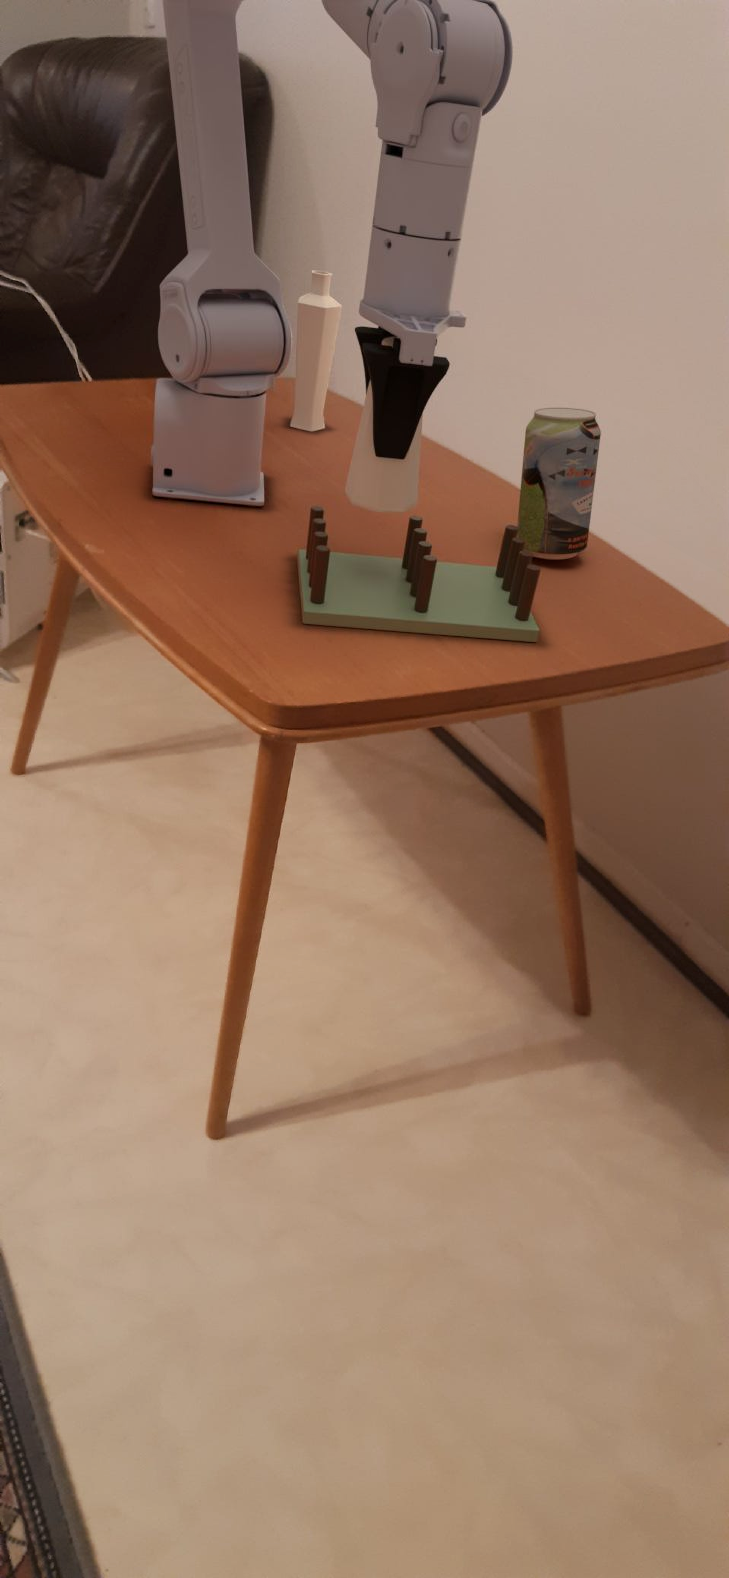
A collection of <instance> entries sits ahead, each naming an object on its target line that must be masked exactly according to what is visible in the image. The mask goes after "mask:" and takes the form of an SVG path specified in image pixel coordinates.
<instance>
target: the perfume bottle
mask: <svg viewBox="0 0 729 1578" xmlns="http://www.w3.org/2000/svg"><path fill="white" fill-rule="evenodd" d="M311 275H312V276H311V277H312V278H311V286H310V292H307V293H305V294H304V295H301V296H300V297H299V298H298V300H297V316H296V317H297V321H296V348H295V349H296V350H295V351H296V353H295V379H294V380H295V381H294V382H295V383H294V384H295V385H294V408H293V409H294V410H293V413H292V416H291V419H290V424H289V427H291V428H295V429H298V430H303V431H307V432H316V431H320V430H325V429H326V425H325V417H324V409H325V404H326V398H327V393H328V387H329V380H330V375H331V370H332V364H333V360H334V359H333V358H334V353H335V348H336V342H337V336H338V330H339V325H340V321H341V314H342V310H343V305H342V304H341V303H339V302H338V301H337V300H336V299H335V298H333V296H331V295H330V288H331V280H332V276H333V273H331V272H328V271H326V270H316V269H311Z"/></svg>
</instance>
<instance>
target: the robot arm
mask: <svg viewBox="0 0 729 1578" xmlns="http://www.w3.org/2000/svg"><path fill="white" fill-rule="evenodd" d="M244 1H245V0H162V8H163V19H164V26H165V27H164V28H165V29H164V30H165V38H166V39H165V40H166V47H167V56H168V57H167V59H168V68H169V76H170V77H169V78H170V87H171V96H172V107H173V116H174V126H175V127H174V128H175V137H176V145H177V146H176V147H177V155H178V158H177V159H178V165H179V176H180V187H181V196H182V205H183V207H182V208H183V217H184V226H185V235H186V236H185V237H186V245H187V246H186V247H187V254H186V256H185V257H184V258H183V259H182V260H181V261H180V262H179V263H178V264H177V265H176V266H175V267H174V268H173V269H172V270H171V271H170V272H169V273H168V274H167V275H166V276H165V277H164V279H163V280H162V281H161V283H160V284H159V296H160V299H159V300H160V311H159V321H158V327H157V341H158V348H159V352H160V353H159V354H160V356H161V360H162V362H163V364H164V366H165V368H166V369H167V371H168V372H169V374H170V376H172V377H171V378H170V377H169V378H168V377H159V378H157V379H156V383H155V390H154V391H155V392H154V406H153V407H154V409H153V444H152V445H151V447H150V466H151V467H152V468H153V469H152V490H151V491H152V493H151V494H152V495H153V496H155V497H158V498H159V497H161V498H171V499H181V500H193V501H201V502H213V503H224V504H232V505H233V504H234V505H243V506H254V507H262V506H264V505H265V477H264V471H261V469H262V455H263V442H264V430H265V418H266V417H265V416H266V405H267V404H266V401H267V391H268V390H273V389H275V384H276V381H275V380H276V378H277V377H280V376H281V374H283V373H284V371H285V370H286V368H287V367H288V364H289V363H290V362H289V361H290V358H291V355H292V350H293V331H292V326H291V322H290V319H289V317H288V314H287V311H286V308H285V304H284V299H283V293H282V281H281V280H280V278H279V277H278V276H277V275H276V274H275V273H274V271H272V269H271V268H270V267H268V265H266V263H265V262H263V261H262V259H260V257H259V256H258V255H257V254H256V253H255V249H254V248H255V247H254V238H253V237H254V236H253V235H254V234H253V223H252V209H251V199H250V185H249V172H248V159H247V148H246V147H247V146H246V134H245V133H246V132H245V124H244V123H245V121H244V107H243V96H242V83H241V71H240V70H241V69H240V58H239V57H240V56H239V46H238V45H239V44H238V33H237V32H238V31H237V21H236V19H237V13H238V11H239V9H240V7H241V5H242V3H243V2H244ZM321 3H322V7H323V8H324V10H325V12H326V14H327V15H328V16H329V18H331V19H332V21H334V23H335V24H336V25H337V26H338V27H339V28H340V29H341V30H342V31H343V32H344V33H345V35H346V36H347V37H348V38H350V40H351V41H352V42H353V43H354V44H355V45H356V46H357V48H359V49H360V51H362V53H363V54H364V55H365V56H366V57H367V58H368V59H369V60H370V61H369V62H370V73H371V79H372V84H373V86H374V87H373V88H374V90H375V94H376V100H377V101H376V103H377V111H376V119H375V128H377V137H378V139H380V140H381V149H380V159H379V165H378V174H377V182H376V191H375V199H374V207H373V214H372V215H373V216H372V225H371V233H370V239H369V240H370V241H369V249H368V257H367V264H366V265H367V266H366V273H365V281H364V290H363V298H361V299H359V307H358V315H359V316H360V317H362V318H363V319H365V320H367V321H369V322H370V323H372V324H374V325H375V326H377V327H372V326H356V327H354V333H355V335H356V336H355V337H356V339H357V342H358V346H359V350H360V353H361V354H360V355H361V359H362V365H363V372H364V382H365V395H366V394H367V390H368V386H369V382H370V381H371V388H372V400H373V444H374V451H375V455H376V457H383V458H392V459H402V460H403V459H405V457H406V455H407V453H408V451H409V448H410V446H411V443H412V440H413V438H414V435H415V432H416V429H417V426H418V424H419V421H420V418H421V416H422V413H423V414H424V411H425V408H426V407H427V405H428V402H429V401H430V399H431V396H432V395H433V393H434V392H435V390H436V389H437V387H438V386H439V384H440V383H441V381H442V380H443V379H444V377H445V376H446V375H447V373H448V371H449V369H450V363H451V362H450V361H449V359H448V358H447V357H446V356H439V355H435V351H436V347H437V344H438V338H439V337H441V336H442V334H443V333H445V332H446V331H448V329H449V328H465V327H466V323H467V315H466V314H465V313H464V312H463V311H460V310H455V309H451V303H452V298H453V293H454V292H453V291H454V285H455V279H456V273H457V266H458V261H459V254H460V249H461V243H462V236H463V231H464V225H465V219H466V215H467V214H466V213H467V207H468V201H469V194H470V189H471V182H472V177H473V171H474V165H475V159H476V152H477V147H478V140H479V134H480V130H481V129H480V128H481V121H482V117H484V116H486V115H487V114H488V113H490V112H491V111H492V110H493V109H494V108H495V107H496V105H497V104H498V103H499V101H500V100H501V98H502V96H503V95H504V93H505V90H506V88H507V85H508V82H509V79H510V74H511V71H512V64H513V54H514V53H513V52H514V51H513V47H514V46H513V38H512V33H511V29H510V26H509V24H508V21H507V19H506V17H505V16H504V14H502V12H501V10H500V8H499V6H498V4H497V2H496V1H494V0H321ZM205 294H206V295H212V294H213V295H215V294H217V295H220V294H221V295H227V294H228V295H233V296H236V297H238V298H201V296H202V295H205ZM388 337H397V338H394V341H393V348H392V346H387V345H382V341H383V340H384V339H385V338H388Z"/></svg>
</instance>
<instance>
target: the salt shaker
mask: <svg viewBox="0 0 729 1578" xmlns="http://www.w3.org/2000/svg"><path fill="white" fill-rule="evenodd" d="M394 338H397V337H388V338H385V339H384V340H383V341H382V345H387V346H392V348H393V341H394ZM362 407H363V408H362V412H361V417H360V421H359V426H358V429H357V434H356V438H355V443H354V446H353V451H352V455H351V460H350V464H349V469H348V473H347V477H346V480H345V481H346V482H345V486H344V489H343V493H344V495H345V497H346V498H347V500H348V501H349V502H350V504H351V505H353V506H355V507H359V508H361V509H364V510H367V511H371V512H374V513H376V514H377V513H378V514H379V513H380V514H405V513H407V512H408V511H410V510H412V509H413V508H414V509H415V507H416V506H417V505H418V501H419V499H418V497H419V483H420V482H419V480H420V467H421V466H420V465H421V452H422V451H421V448H422V432H423V415H424V412H423V413H422V416H421V418H420V421H419V424H418V426H417V429H416V432H415V435H414V438H413V440H412V443H411V446H410V448H409V451H408V453H407V455H406V457H405V459H403V460H402V459H392V458H383V457H376V455H375V451H374V444H373V400H372V388H371V381H370V382H369V386H368V390H367V394H366V393H365V399H364V403H363V406H362Z"/></svg>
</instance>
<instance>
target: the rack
mask: <svg viewBox="0 0 729 1578" xmlns="http://www.w3.org/2000/svg"><path fill="white" fill-rule="evenodd" d="M309 513H310V514H309V521H308V522H309V523H308V532H307V539H306V540H307V541H306V549H304V548H303V549H301V548H298V550H297V557H296V562H297V563H296V565H297V573H298V574H297V575H298V584H299V598H300V609H301V620H302V624H304V625H313V626H314V625H316V626H327V627H338V628H339V627H340V628H352V629H365V630H375V631H376V630H377V631H389V632H401V633H402V632H403V633H415V634H426V635H427V634H428V635H439V636H440V635H441V636H451V637H465V638H476V639H477V638H478V639H488V640H489V639H491V640H501V641H502V640H504V641H514V642H526V643H527V642H529V643H537V642H538V640H539V636H540V628H539V626H538V624H537V622H536V620H535V618H534V616H533V614H532V612H531V611H532V607H533V602H534V599H535V595H536V590H537V586H538V582H539V578H540V574H541V566H538V565H536V564H532V561H533V557H534V556H533V554H532V553H531V552H529V551H524V546H525V540H524V539H522V538H517V533H518V527H517V526H516V525H513V524H506V526H505V527H504V533H503V536H502V542H501V544H500V545H501V546H500V551H499V555H498V559H497V564H496V566H492V565H491V566H489V565H479V564H470V563H469V564H468V563H455V562H447V561H446V562H445V561H438V558H437V557H436V556H435V555H432V549H433V544H432V543H431V542H430V541H427V537H428V530H426V529H425V528H422V527H423V517H422V516H419V515H410V516H409V519H408V526H407V532H406V537H405V544H404V549H403V556H402V558H401V557H391V556H381V555H370V554H359V553H349V552H348V553H347V552H337V551H331V548H330V547H329V546H328V540H329V534H328V533H327V532H326V527H327V521H326V520H325V519H324V515H325V508H324V507H322V506H318V505H313V506H311V507H310V512H309Z"/></svg>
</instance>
